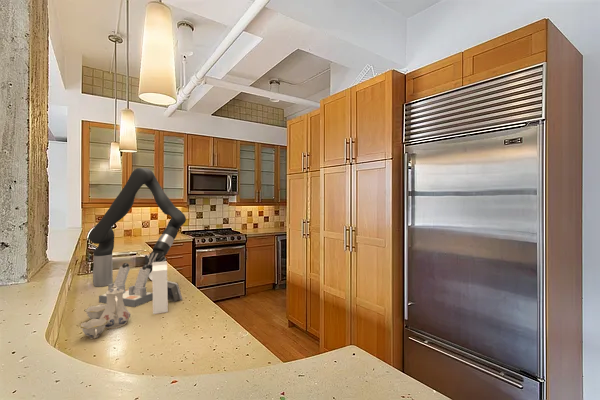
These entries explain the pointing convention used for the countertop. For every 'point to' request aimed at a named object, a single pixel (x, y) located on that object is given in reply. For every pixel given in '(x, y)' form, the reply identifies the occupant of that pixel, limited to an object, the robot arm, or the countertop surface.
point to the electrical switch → (173, 291)
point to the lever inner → (122, 275)
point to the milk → (159, 287)
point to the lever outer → (141, 278)
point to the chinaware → (106, 314)
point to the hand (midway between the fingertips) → (146, 273)
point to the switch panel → (130, 296)
